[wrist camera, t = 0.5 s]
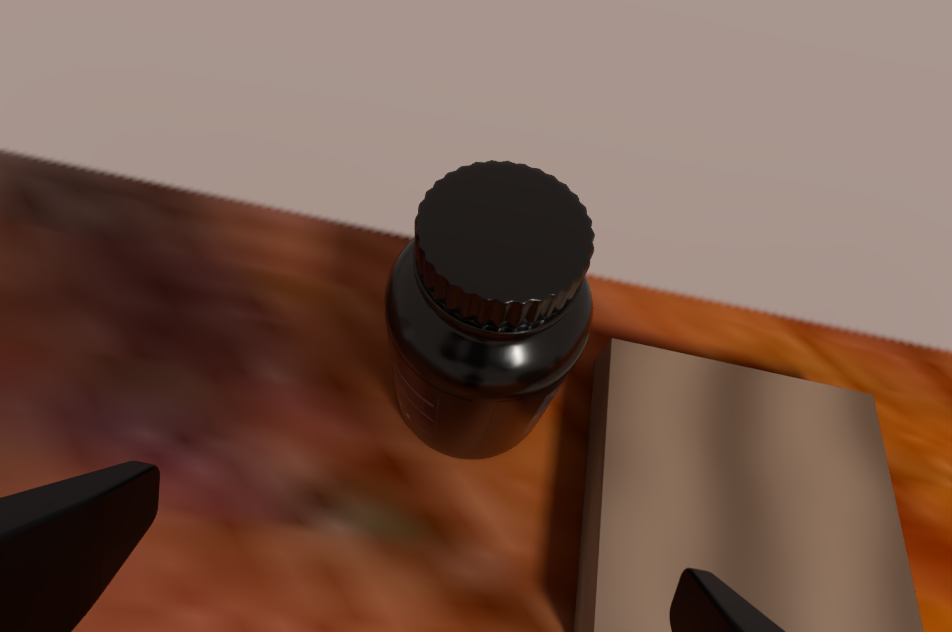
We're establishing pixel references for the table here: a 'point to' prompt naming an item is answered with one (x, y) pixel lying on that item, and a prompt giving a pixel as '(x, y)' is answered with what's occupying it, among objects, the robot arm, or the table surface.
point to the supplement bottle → (488, 306)
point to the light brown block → (736, 497)
